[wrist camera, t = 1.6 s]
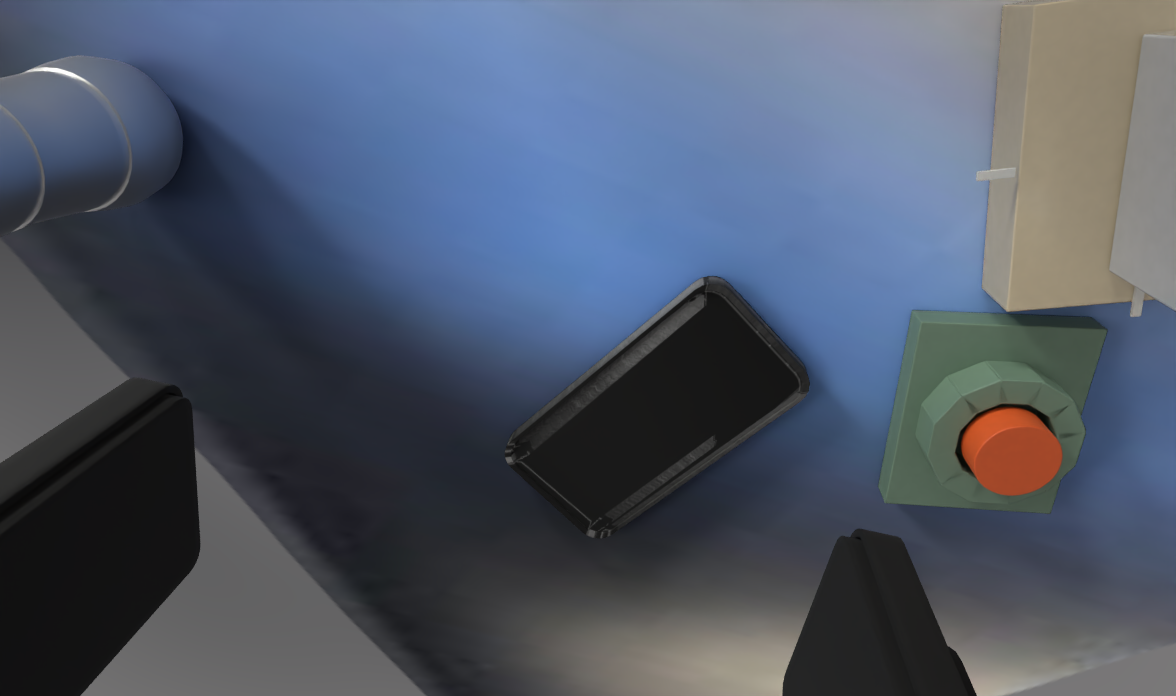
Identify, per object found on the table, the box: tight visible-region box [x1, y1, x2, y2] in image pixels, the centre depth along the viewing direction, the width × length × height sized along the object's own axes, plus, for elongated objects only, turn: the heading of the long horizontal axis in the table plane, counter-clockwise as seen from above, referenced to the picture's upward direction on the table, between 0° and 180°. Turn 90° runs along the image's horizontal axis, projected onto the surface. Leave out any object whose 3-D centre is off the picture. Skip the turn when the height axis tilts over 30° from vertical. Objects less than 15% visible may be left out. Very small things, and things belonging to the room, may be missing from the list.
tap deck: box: [976, 0, 1176, 317], centre depth 30 cm, size 13×13×3 cm
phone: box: [505, 276, 810, 538], centre depth 38 cm, size 8×1×15 cm
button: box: [961, 407, 1063, 496], centre depth 33 cm, size 4×4×2 cm
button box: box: [878, 310, 1108, 514], centre depth 35 cm, size 10×8×4 cm
